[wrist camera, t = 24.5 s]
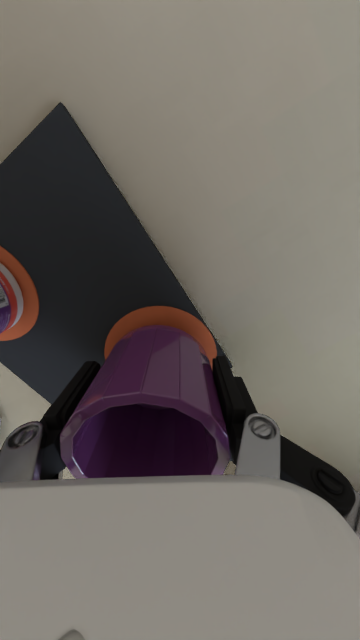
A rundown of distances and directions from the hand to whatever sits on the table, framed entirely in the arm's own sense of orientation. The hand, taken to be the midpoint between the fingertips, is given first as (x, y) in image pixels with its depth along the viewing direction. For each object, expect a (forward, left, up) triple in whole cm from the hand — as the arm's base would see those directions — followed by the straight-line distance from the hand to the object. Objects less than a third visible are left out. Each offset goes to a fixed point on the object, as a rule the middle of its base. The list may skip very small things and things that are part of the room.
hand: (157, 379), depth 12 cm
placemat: (-5, -3, -3) cm, 6 cm away
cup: (0, 0, -1) cm, 1 cm away
